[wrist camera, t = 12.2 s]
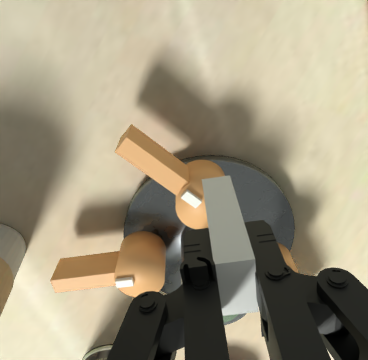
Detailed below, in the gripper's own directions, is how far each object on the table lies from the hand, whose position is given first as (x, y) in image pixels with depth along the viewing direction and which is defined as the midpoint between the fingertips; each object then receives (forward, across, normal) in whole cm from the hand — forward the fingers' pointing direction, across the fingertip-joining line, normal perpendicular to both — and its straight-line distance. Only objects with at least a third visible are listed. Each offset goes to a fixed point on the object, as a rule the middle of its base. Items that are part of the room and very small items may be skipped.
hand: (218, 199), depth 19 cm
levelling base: (+15, -1, -13) cm, 20 cm away
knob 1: (+13, -11, -13) cm, 21 cm away
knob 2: (+13, -3, -4) cm, 14 cm away
